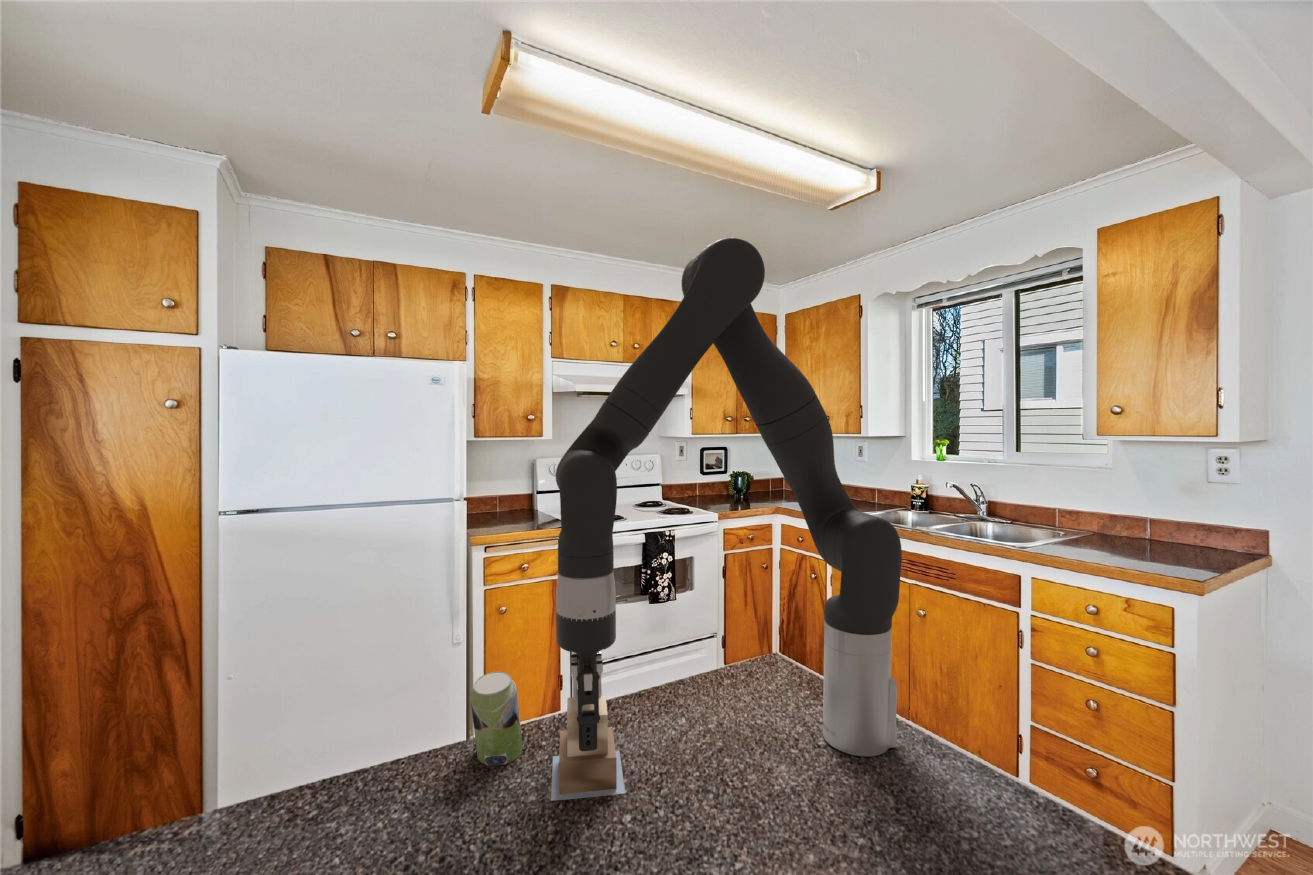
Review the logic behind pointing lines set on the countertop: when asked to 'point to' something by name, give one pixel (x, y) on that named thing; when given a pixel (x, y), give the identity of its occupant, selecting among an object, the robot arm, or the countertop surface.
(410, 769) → the countertop surface
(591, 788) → the walnut block
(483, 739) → the beverage can
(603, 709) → the maple cube
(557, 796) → the board
